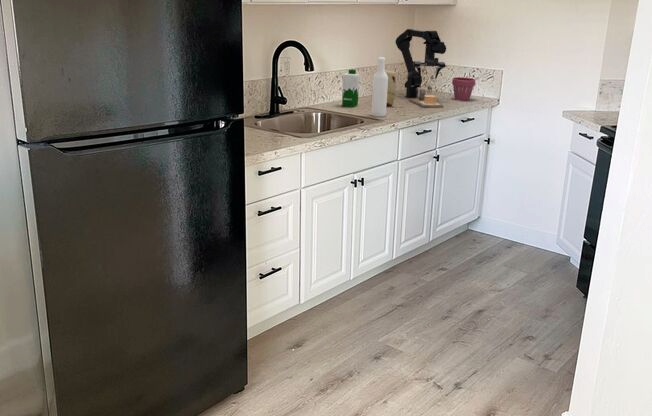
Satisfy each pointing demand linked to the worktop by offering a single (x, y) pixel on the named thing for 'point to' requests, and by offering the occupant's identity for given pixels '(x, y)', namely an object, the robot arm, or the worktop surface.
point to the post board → (421, 103)
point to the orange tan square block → (429, 99)
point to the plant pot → (463, 88)
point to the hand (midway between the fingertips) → (427, 79)
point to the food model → (391, 87)
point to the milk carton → (350, 89)
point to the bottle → (379, 90)
